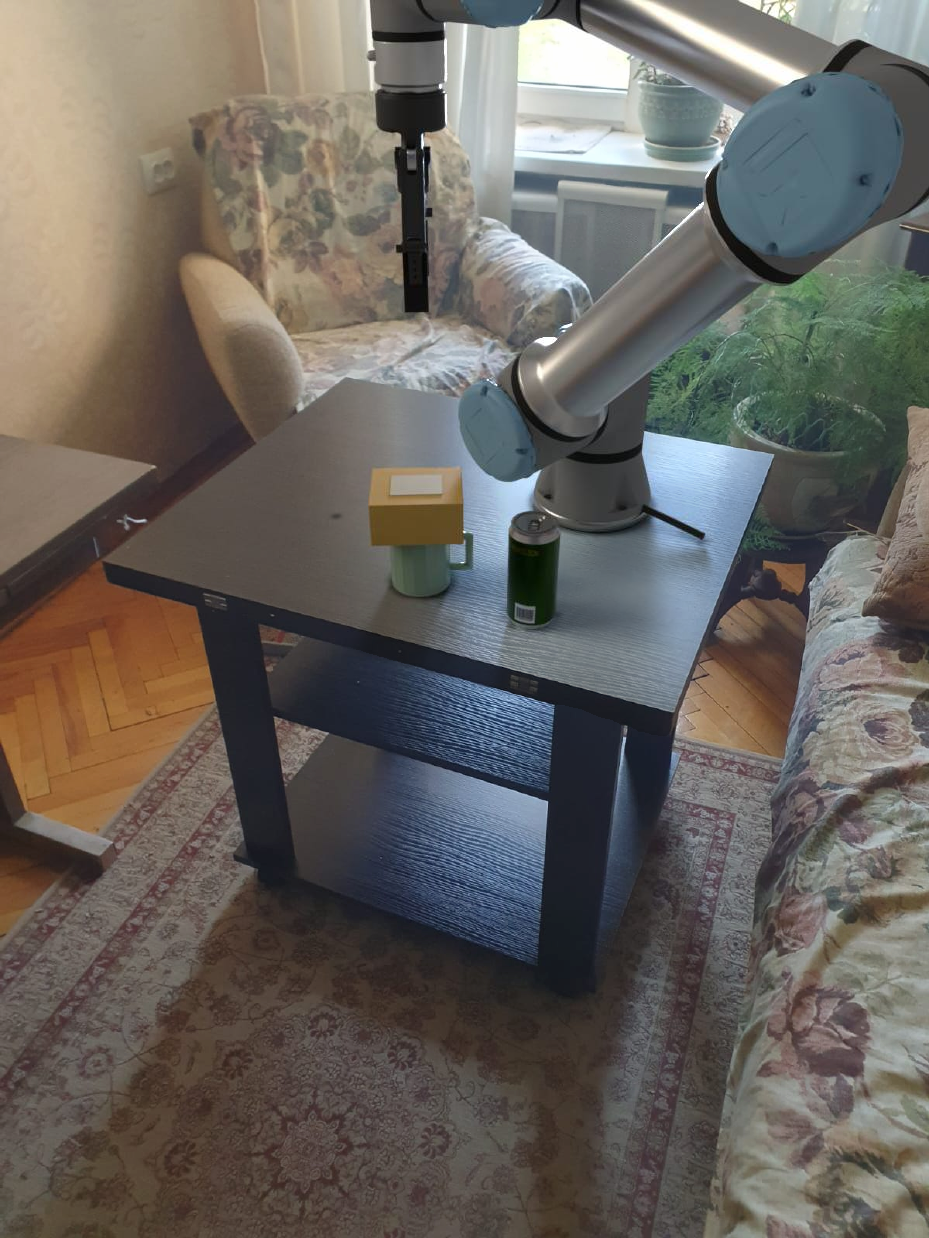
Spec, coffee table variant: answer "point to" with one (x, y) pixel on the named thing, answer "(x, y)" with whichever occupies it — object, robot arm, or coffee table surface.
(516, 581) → the beer can
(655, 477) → the coffee table surface
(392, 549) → the cup
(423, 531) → the tea packet
